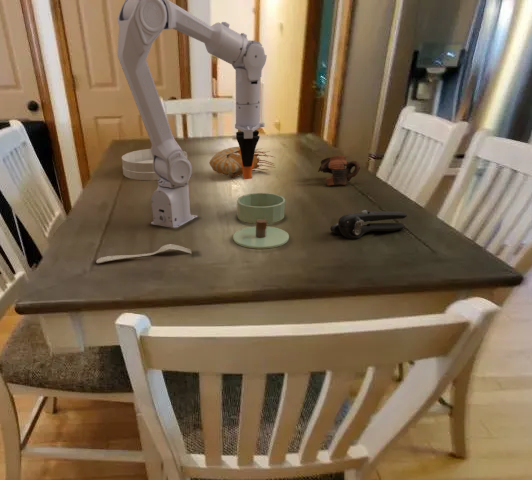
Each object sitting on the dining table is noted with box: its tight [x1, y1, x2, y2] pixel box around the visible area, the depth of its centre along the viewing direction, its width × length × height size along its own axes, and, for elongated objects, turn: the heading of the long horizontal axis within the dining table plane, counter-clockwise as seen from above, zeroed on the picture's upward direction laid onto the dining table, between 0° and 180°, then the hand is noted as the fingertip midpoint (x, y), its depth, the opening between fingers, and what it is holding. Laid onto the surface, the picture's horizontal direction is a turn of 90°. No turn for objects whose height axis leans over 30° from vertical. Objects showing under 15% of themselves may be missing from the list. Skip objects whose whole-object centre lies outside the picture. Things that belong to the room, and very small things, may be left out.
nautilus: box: [208, 146, 277, 178], centre depth 146 cm, size 8×22×15 cm
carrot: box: [242, 158, 254, 180], centre depth 116 cm, size 3×3×9 cm
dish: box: [121, 148, 188, 181], centre depth 155 cm, size 22×22×5 cm
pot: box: [236, 192, 286, 225], centre depth 114 cm, size 12×12×4 cm
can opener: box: [329, 209, 408, 240], centre depth 102 cm, size 18×7×6 cm, turn 106°
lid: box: [232, 219, 290, 250], centre depth 102 cm, size 12×12×4 cm
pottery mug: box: [317, 155, 361, 187], centre depth 137 cm, size 12×10×8 cm
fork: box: [96, 243, 192, 264], centre depth 98 cm, size 3×21×3 cm, turn 98°
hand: (247, 164), depth 117 cm, fingers closed on carrot, 3 cm apart
